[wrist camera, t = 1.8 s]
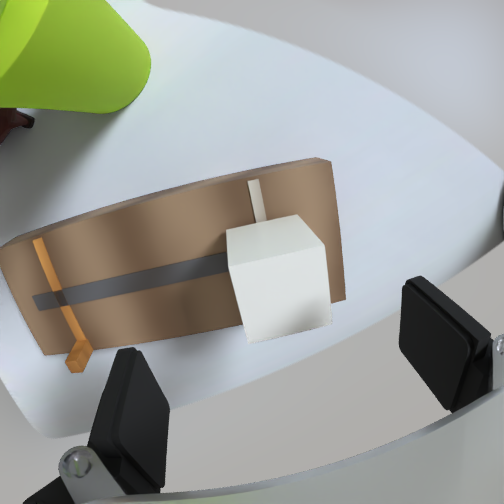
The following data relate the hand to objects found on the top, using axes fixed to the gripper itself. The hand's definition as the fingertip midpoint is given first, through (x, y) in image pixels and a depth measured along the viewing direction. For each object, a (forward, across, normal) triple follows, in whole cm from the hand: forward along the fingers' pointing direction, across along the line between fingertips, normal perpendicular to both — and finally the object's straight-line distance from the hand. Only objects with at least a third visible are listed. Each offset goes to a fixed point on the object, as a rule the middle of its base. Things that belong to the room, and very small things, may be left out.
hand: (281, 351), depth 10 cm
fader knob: (+8, -1, 0) cm, 8 cm away
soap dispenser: (+12, +6, -13) cm, 19 cm away
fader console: (+12, +6, 0) cm, 13 cm away
